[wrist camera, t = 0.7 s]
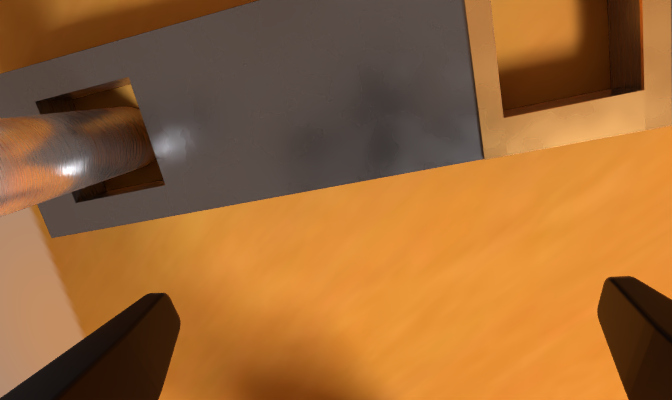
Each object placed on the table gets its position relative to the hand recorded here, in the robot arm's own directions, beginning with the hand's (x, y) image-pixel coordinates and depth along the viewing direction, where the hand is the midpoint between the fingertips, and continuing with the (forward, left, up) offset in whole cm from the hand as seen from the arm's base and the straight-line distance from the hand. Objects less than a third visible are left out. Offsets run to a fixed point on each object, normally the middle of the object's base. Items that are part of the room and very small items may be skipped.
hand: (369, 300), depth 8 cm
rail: (+3, +4, -14) cm, 15 cm away
